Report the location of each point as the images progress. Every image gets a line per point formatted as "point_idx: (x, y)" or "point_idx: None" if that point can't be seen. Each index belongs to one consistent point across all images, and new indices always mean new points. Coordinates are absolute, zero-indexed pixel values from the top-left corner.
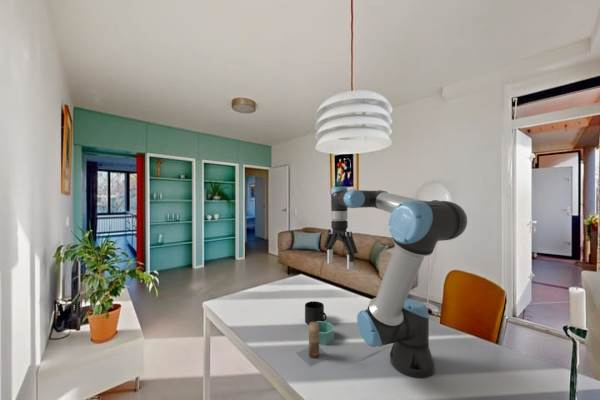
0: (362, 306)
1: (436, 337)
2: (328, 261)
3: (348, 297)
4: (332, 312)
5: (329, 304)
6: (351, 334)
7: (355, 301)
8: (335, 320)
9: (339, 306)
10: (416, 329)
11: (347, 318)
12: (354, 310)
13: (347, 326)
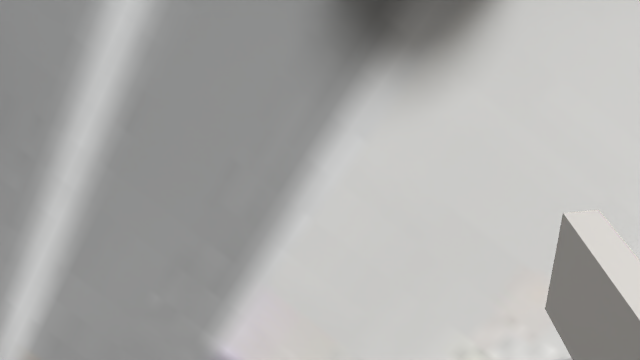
0: (462, 296)
1: (5, 353)
2: (590, 242)
3: None
4: (527, 97)
5: (633, 152)
6: (206, 14)
7: (540, 305)
8: (421, 42)
9: (560, 189)
10: None
11: (395, 128)
12: (453, 230)
13: (308, 60)
